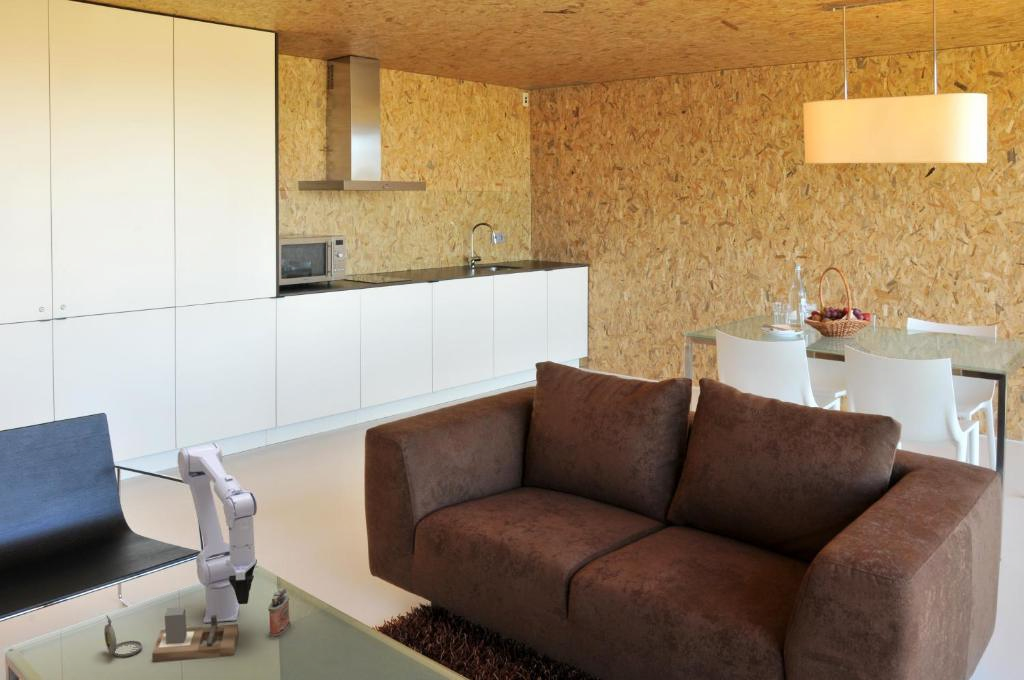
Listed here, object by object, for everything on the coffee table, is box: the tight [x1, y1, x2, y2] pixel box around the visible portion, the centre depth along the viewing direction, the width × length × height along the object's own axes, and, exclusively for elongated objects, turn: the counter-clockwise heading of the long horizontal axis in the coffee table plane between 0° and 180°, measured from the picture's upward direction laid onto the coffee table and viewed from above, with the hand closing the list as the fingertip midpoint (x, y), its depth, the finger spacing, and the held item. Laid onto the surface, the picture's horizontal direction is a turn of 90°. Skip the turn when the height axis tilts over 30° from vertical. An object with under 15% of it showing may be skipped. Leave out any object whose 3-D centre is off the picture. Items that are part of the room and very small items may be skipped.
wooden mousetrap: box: [151, 615, 239, 662], centre depth 228 cm, size 12×18×5 cm, turn 101°
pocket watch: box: [103, 614, 143, 657], centre depth 224 cm, size 8×8×10 cm
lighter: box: [267, 587, 291, 639], centre depth 236 cm, size 8×3×10 cm, turn 168°
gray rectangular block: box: [164, 607, 187, 644], centre depth 226 cm, size 4×4×7 cm
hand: (244, 596), depth 231 cm, fingers open, 7 cm apart
